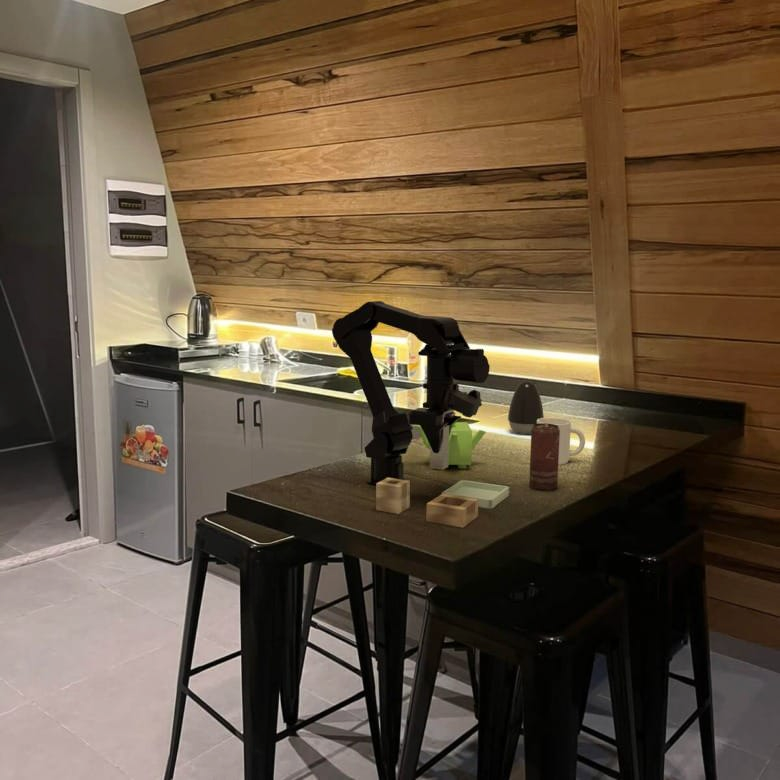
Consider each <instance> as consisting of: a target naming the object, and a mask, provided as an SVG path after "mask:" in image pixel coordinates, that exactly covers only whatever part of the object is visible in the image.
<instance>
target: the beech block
mask: <svg viewBox="0 0 780 780" xmlns="http://www.w3.org/2000/svg"><path fill="white" fill-rule="evenodd" d="M375 485H376V486H375V487H376V489H375V492H376V493H375V497H376V498H375V511H379V512H380V511H381V512H385V513H391V514H396V515H399V514H400V513H402V512H404V511H406V510H408V509H409V508H410V507H411V506H410V503H411V501H410V500H411V499H410V497H411V494H410V492H411V491H410V490H411V486H410V485H411V481H410V480H407V479H405V480H401V479H394V478H386V479H384V480H382V481H380V482H378V483H376V484H375Z"/></svg>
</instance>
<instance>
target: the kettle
mask: <svg viewBox="0 0 780 780" xmlns="http://www.w3.org/2000/svg"><path fill="white" fill-rule="evenodd" d="M411 427H413V428H414V427H415V428H416V429H417V430H418V432H419V434H420V436H421V440H422V443H423V445H424V446H425V448H426V449H428V450H429V451H430V444H429V442H428V440H427V438H426V436H425V434H424V432H423V430H422V428H421V426H420V425H415V424H411ZM485 434H486V431H484V430H481V429H479V430H478V431H477V432H476V433H474V435H473V431H472V429H471V427H470V425H469V423H468V422H467V421H456V422H455V423H454V424H453V426H452V429H451V432H450V435H449V465H450V466H457V468H458V469H461V470H465V469H468V466H471V465H472V458H473V457H472V453H473V450H474V448H475V447H476V446H477V444H478V443H479V442H480V441H481V439H482V438H483V437H484V436H485ZM449 465H448V466H449Z"/></svg>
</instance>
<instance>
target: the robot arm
mask: <svg viewBox="0 0 780 780" xmlns="http://www.w3.org/2000/svg"><path fill="white" fill-rule="evenodd" d="M379 323H380V324H383V325H386V326H389V327H393V328H394V329H398V330H401V331H405V332H406V333H407V332H408V333H410V334H412V335H413V336H415V338H417V340H418V341H420V342H421V343H424V344H425V345H424V347H422V349H421V350H420V351H418V353H417V354H418V356H421V357H426V382H423V383H422V389H426V401H424V402H422V407H418V408H415V409H414V408H413V409H412V410H411V411H409V413H408V415H407V413H406V412H401V413H399V412H398V411H397V410H396V409H395V407H394V406H393V403H392V401H391V398H390V395H389V393H388V390H387V387H386V385H385V383H384V381H383V378H382V375H381V373H380V370H379V368H378V365H377V362H376V359H375V357H374V355H373V352H372V345H373V344H372V343H373V335H372V331H374V330H375V329H376V328H377V327H378V325H379ZM331 334H332V336H333V339H334V341H335V342H336V344H337V346H338V348H339V350H341V351H342V352H343V353H344V354H345V355H346V356H347V357H349V359H350V361H351V363H352V366H353V369H354V371H355V373H356V374H355V375H357V379H358V381H359V384H360V387H361V389H362V392H363V394H364V396H365V399H366V402H367V405H368V407H369V411H370V412H371V415H372V422H371V423H372V425H371V434H372V437H373V438H372V439H371V440H370V442H368V443H367V445H365V447H364V452H365V455H366V456H365V457H366V458H369V459H370V479H368V480H366V483H367V484H370V485H376V483H378V482H380V481H382V480H384V479H386V478H394V479H401V480H406V478H404V465H405V464H404V462H402V461H403V456H402V455H406V454H407V452H408V448H409V446H410V445H411V443H412V439H413V437H414V436H413V431H412V430H414V427H413V426H412V425H420V426H421V428H422V430H423V432H424V434H425V436H426V438H427V440H428V442H429V444H430V446H431V449H432V451H433V453H439V448H440V442H441V435H442V429H443V428H444V427H445V426H446V425H449V435H450V432H451V429H452V426H453V424H454V423H455V422H459V420H460V419H462V416H463V417H466V418H472V417H473V416H476V415H477V413H478V410H479V408H480V407H482V405H483V403H482V398H481V392H480V391H478V390H477V389H473V390H470V391H469V392H466V391H464V392H463V391H461V390H459V389H460V388H459V387H460V386H459V384H458V382H455V381H460V382H466V383H468V382H469V383H476V384H482V383H485V381H486V380H487V379H488V376H489V373H490V364H489V359H488V358H487V356H486V355H485V350H484V349H483V348H471V347H470V346H469V344H468V341H467V340H466V338H465V337H464V335H463V333H462V332H461V330H460V326H459V323H458V321H457V320H456V319H455V318H453V317H447V316H437V315H436V316H434V315H422V314H419V313H417V312H413V311H409V310H406V309H404V308H400V307H397V306H394V305H390V304H387V303H385V302H384V301H381V300H374V301H367V302H365V303H364V304H362V305H361V306H359V307H358V308H357V309H355V310H353V311H352V312H350V313H349V312H348V314H346V315H344V316H343V317H339V318H336V320H335V321H334V324H333V326H332V329H331ZM456 412H457V413H460V414H462V416H461V415H456Z"/></svg>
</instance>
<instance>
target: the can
mask: <svg viewBox="0 0 780 780" xmlns="http://www.w3.org/2000/svg"><path fill="white" fill-rule="evenodd" d="M559 438H560V430H559V428H558V426H557V425H554V424H547V423H541V424H534V425H533V428H532V429H531V434H530V457H529V458H530V460H529V486H530V488H532V489H533V490H537V491H543V492H545V491H547V492H549V491H554V490H556V489H557V487H558V480H559V479H558V477H559V476H558V475H559V465H558V460H559Z"/></svg>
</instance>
